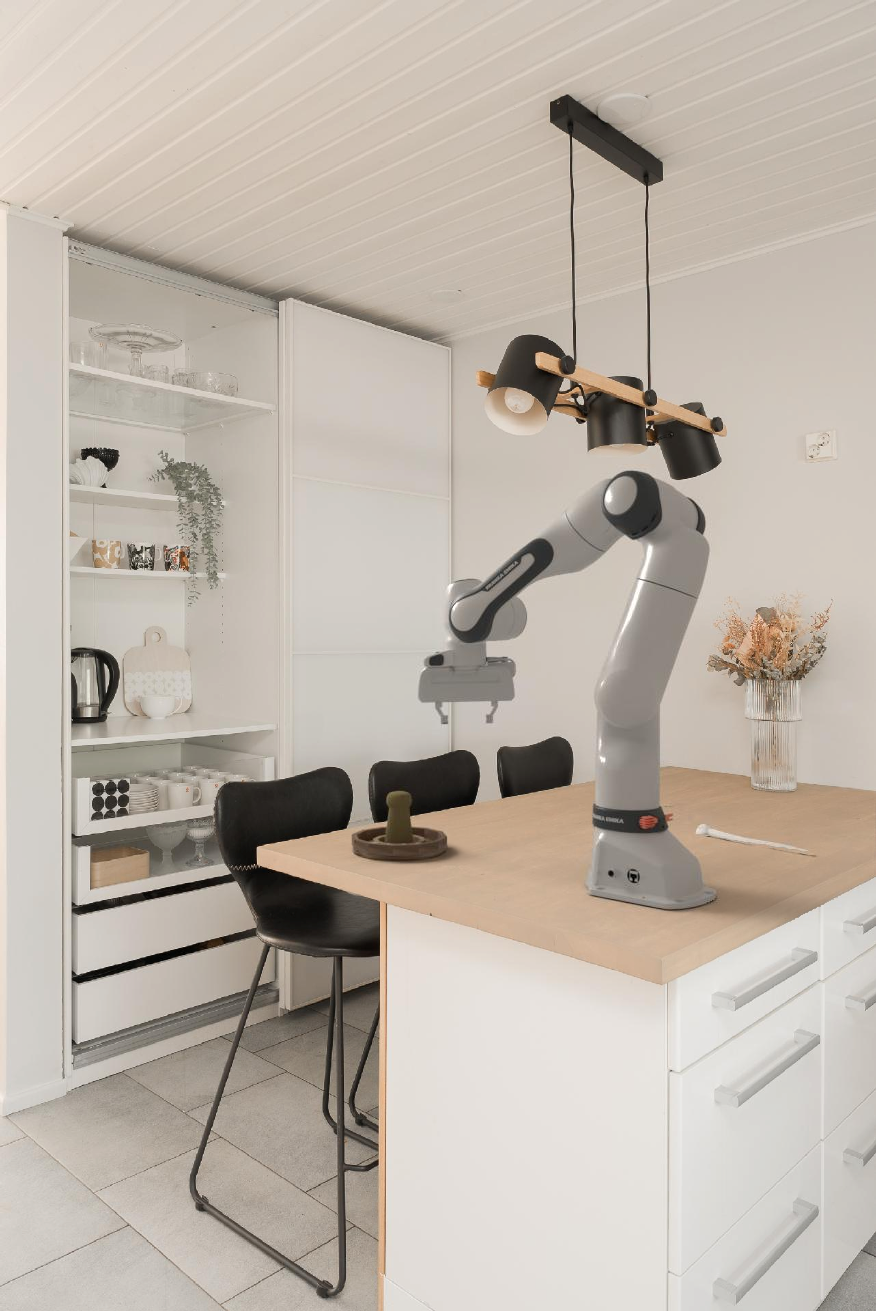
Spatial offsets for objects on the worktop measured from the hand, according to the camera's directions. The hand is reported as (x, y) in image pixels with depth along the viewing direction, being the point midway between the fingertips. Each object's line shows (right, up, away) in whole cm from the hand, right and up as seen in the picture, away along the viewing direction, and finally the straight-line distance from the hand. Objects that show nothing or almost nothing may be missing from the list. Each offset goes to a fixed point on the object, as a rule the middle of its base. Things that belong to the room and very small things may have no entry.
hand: (467, 723), depth 196 cm
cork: (-14, -25, -4) cm, 29 cm away
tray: (-14, -26, -4) cm, 29 cm away
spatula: (+61, -26, +3) cm, 67 cm away
